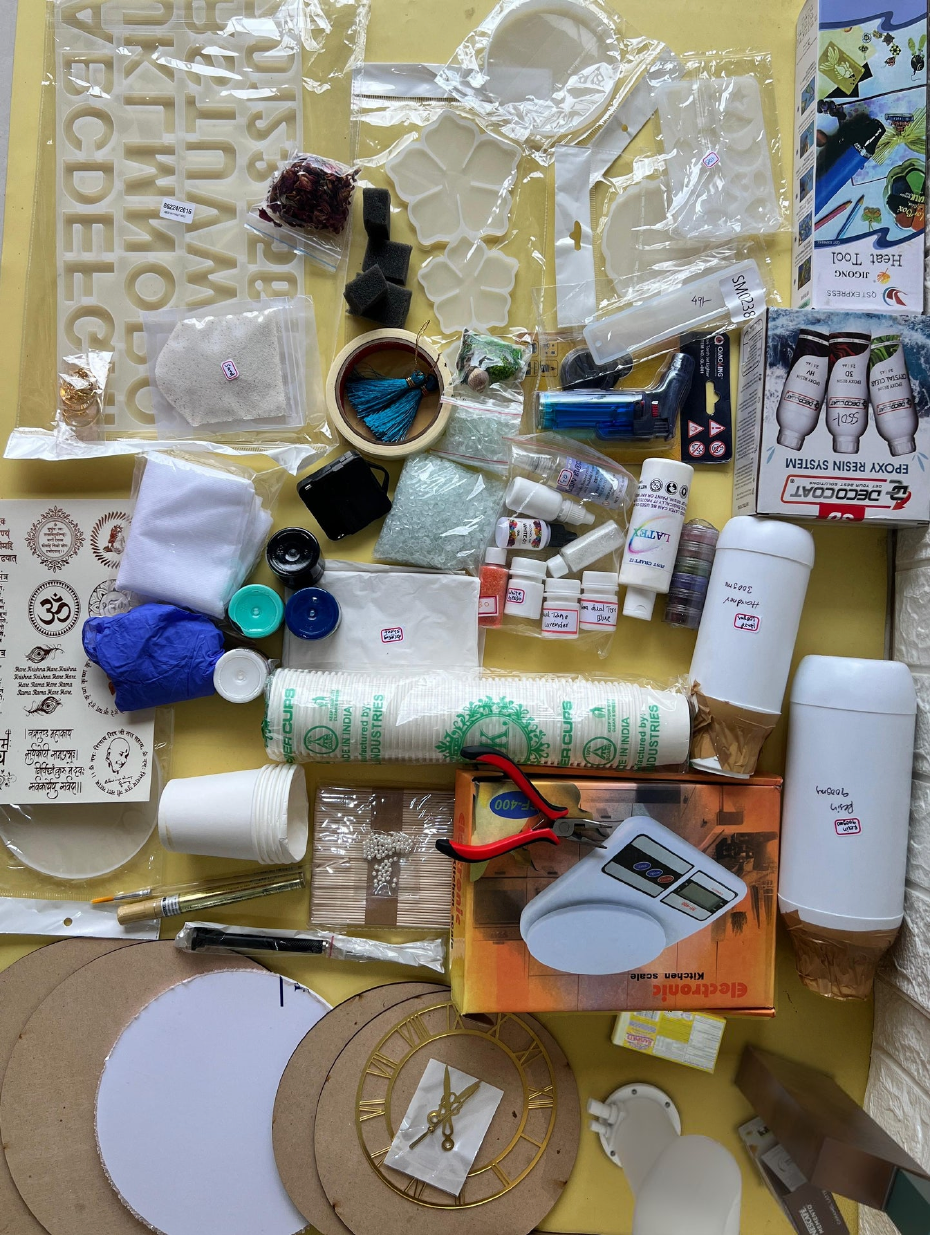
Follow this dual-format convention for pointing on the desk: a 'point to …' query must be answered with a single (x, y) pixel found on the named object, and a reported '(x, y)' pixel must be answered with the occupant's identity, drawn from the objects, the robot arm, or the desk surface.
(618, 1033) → the candy box
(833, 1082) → the brown slanted block
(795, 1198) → the coffee box
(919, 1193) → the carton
